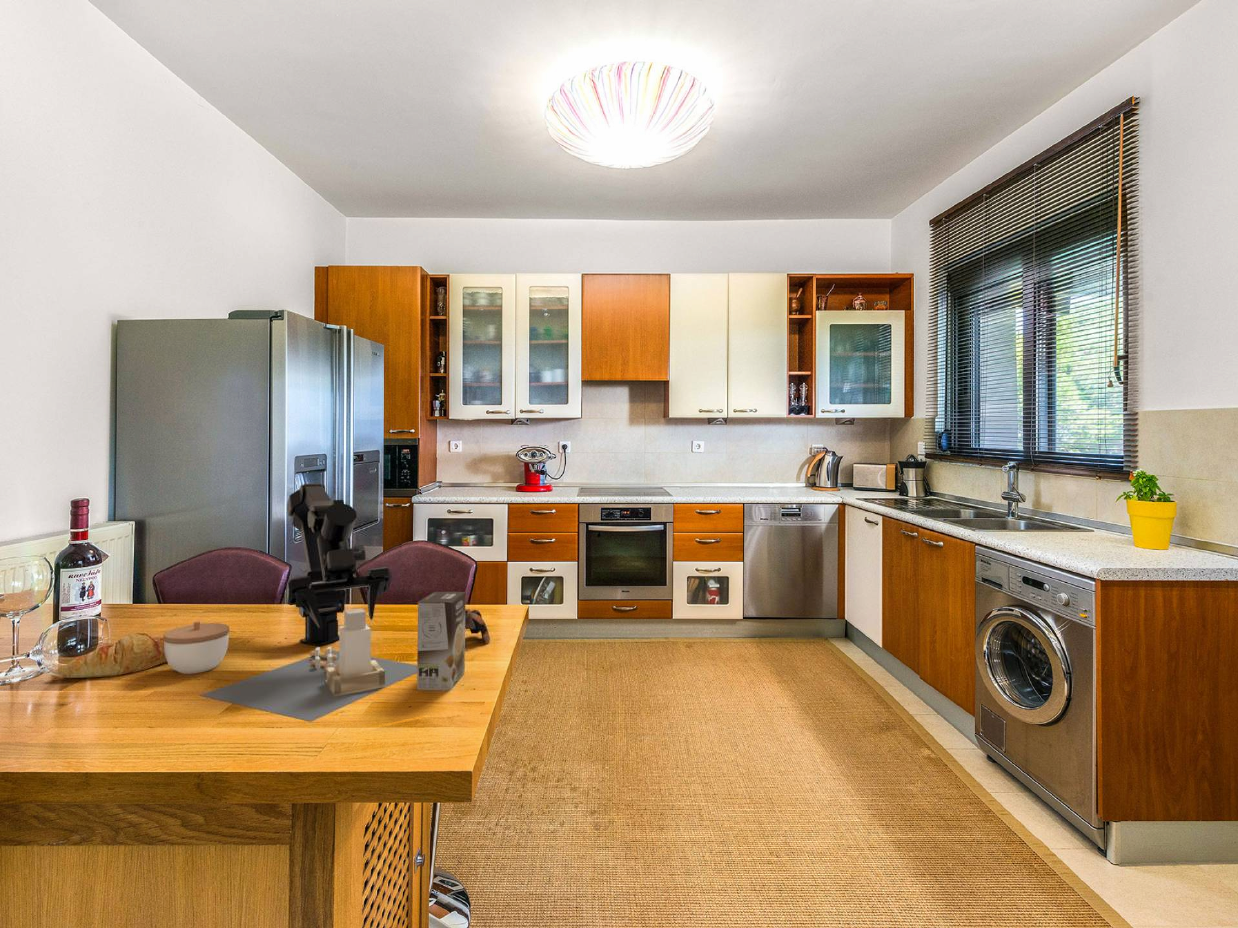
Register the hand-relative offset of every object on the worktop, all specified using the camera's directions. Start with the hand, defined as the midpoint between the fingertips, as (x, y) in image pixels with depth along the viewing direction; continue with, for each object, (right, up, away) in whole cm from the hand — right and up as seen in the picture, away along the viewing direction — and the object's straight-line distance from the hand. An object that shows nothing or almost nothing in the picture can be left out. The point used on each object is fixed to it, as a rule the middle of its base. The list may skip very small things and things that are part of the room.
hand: (346, 622), depth 124 cm
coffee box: (+20, -10, -5) cm, 22 cm away
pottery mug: (+18, -10, +22) cm, 30 cm away
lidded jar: (-29, -10, +1) cm, 31 cm away
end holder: (+4, -9, -7) cm, 13 cm away
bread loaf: (-43, -10, +2) cm, 45 cm away
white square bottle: (+4, -9, -7) cm, 12 cm away
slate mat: (-2, -10, -5) cm, 11 cm away
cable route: (-5, -9, +3) cm, 11 cm away
